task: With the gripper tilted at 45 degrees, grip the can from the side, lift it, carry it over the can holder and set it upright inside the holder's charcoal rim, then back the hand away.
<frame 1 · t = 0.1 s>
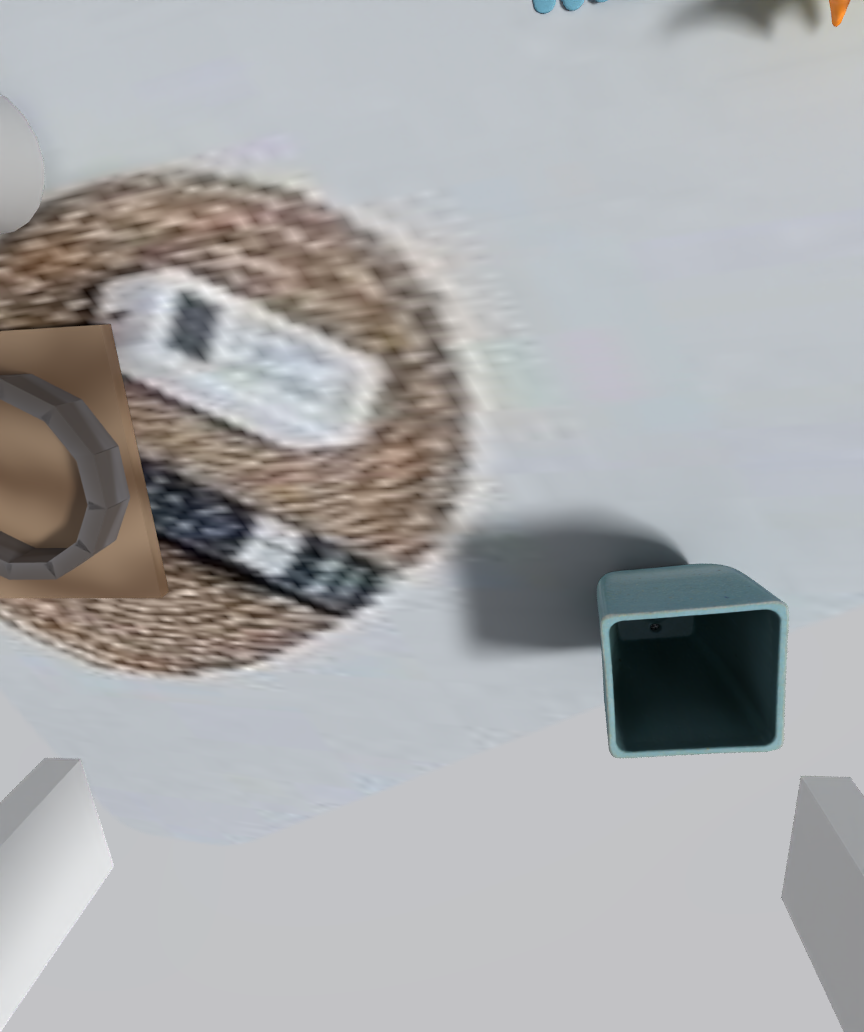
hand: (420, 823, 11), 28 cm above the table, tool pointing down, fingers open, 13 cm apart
flower pot: (653, 602, 40), on the table
can holder: (44, 470, 41), on the table
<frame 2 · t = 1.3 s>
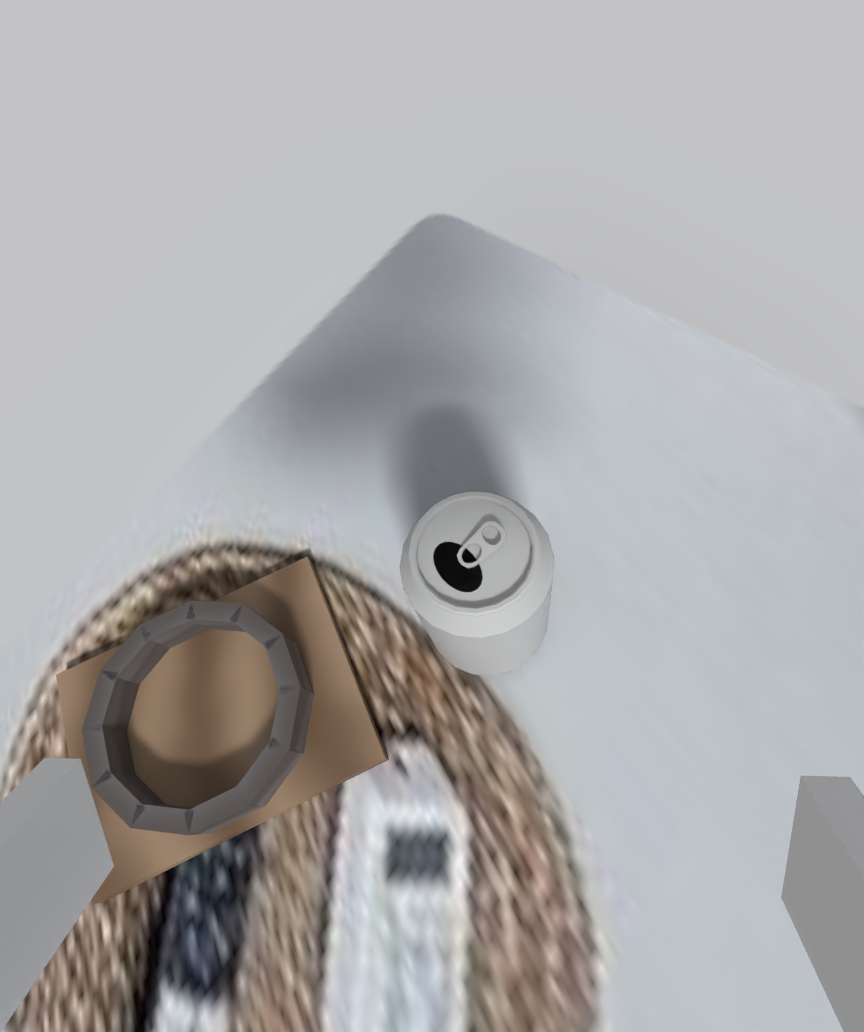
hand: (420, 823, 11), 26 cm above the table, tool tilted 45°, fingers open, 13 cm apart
can: (487, 619, 39), on the table
can holder: (217, 715, 39), on the table
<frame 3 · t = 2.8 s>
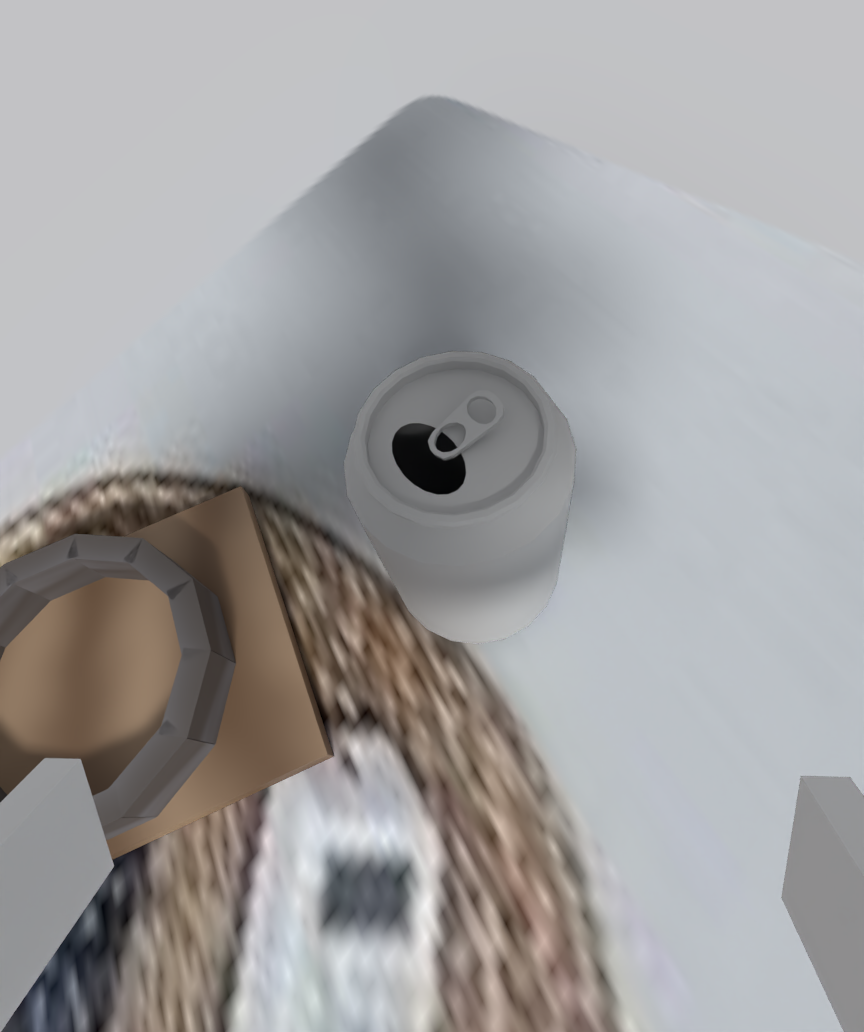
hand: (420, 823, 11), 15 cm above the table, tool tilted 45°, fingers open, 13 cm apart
can: (476, 571, 29), on the table
can holder: (107, 692, 29), on the table
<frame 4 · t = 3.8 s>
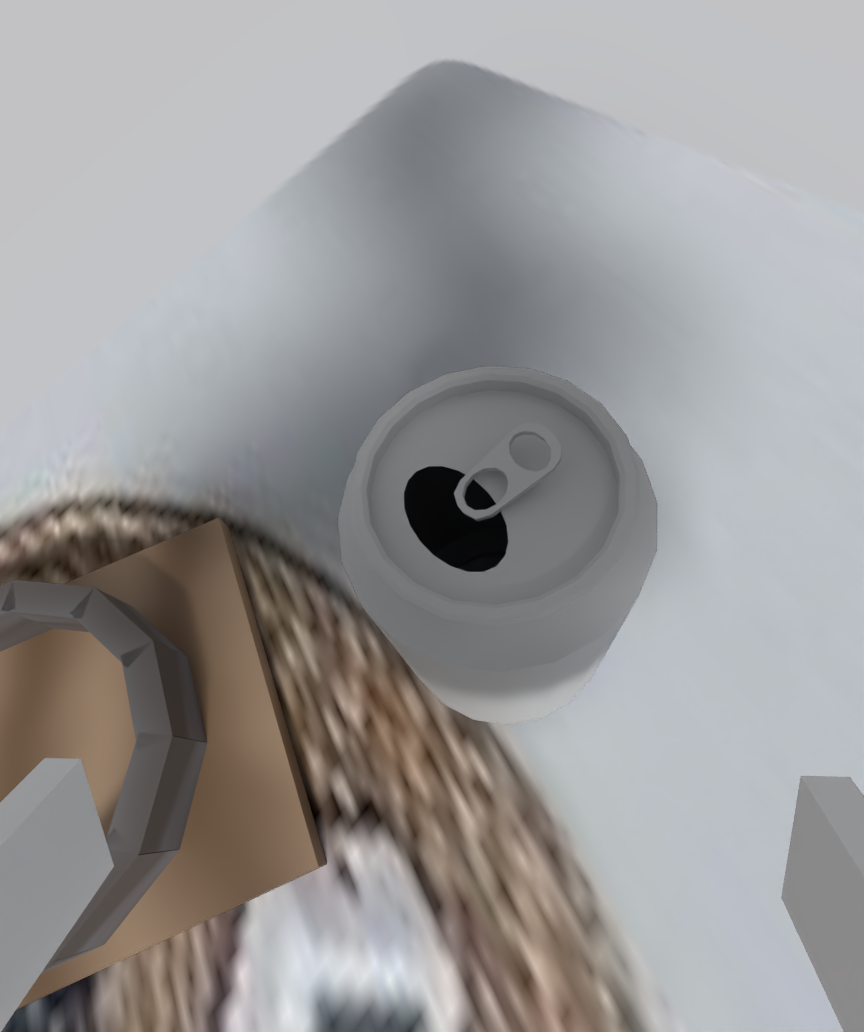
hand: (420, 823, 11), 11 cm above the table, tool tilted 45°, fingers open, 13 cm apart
can: (502, 626, 24), on the table
can holder: (52, 771, 24), on the table
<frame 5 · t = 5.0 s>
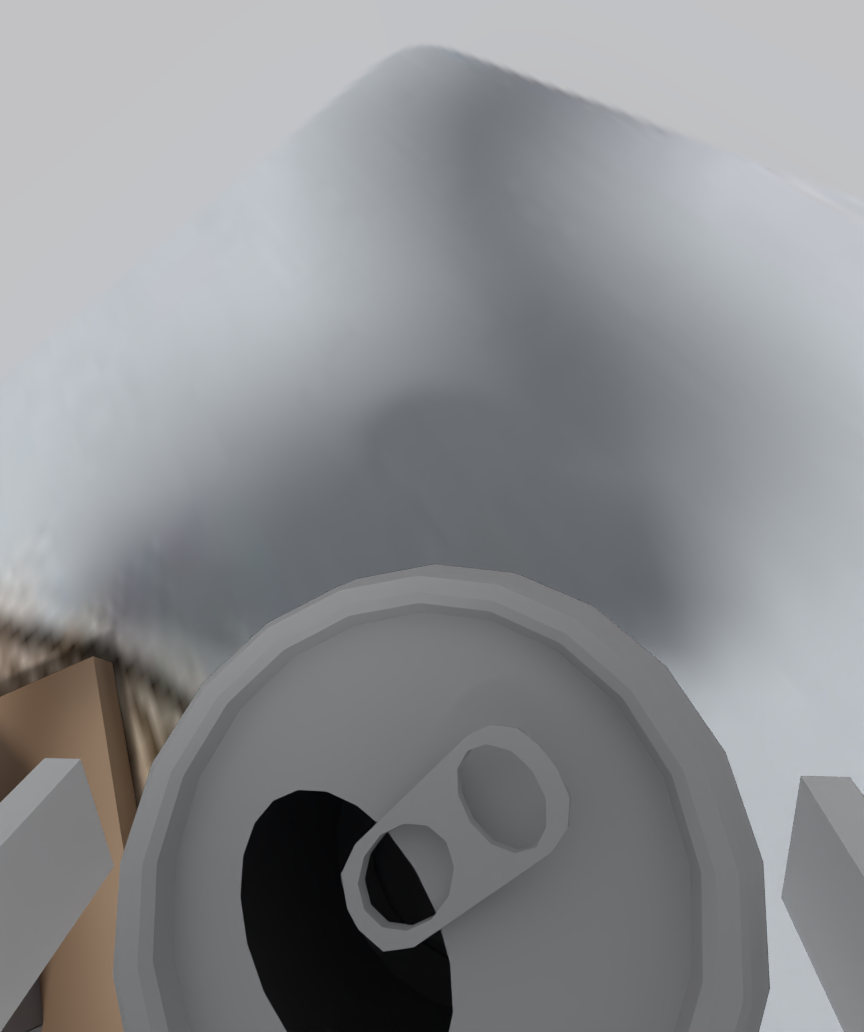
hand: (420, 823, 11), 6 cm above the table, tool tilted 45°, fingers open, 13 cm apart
can: (481, 830, 17), on the table
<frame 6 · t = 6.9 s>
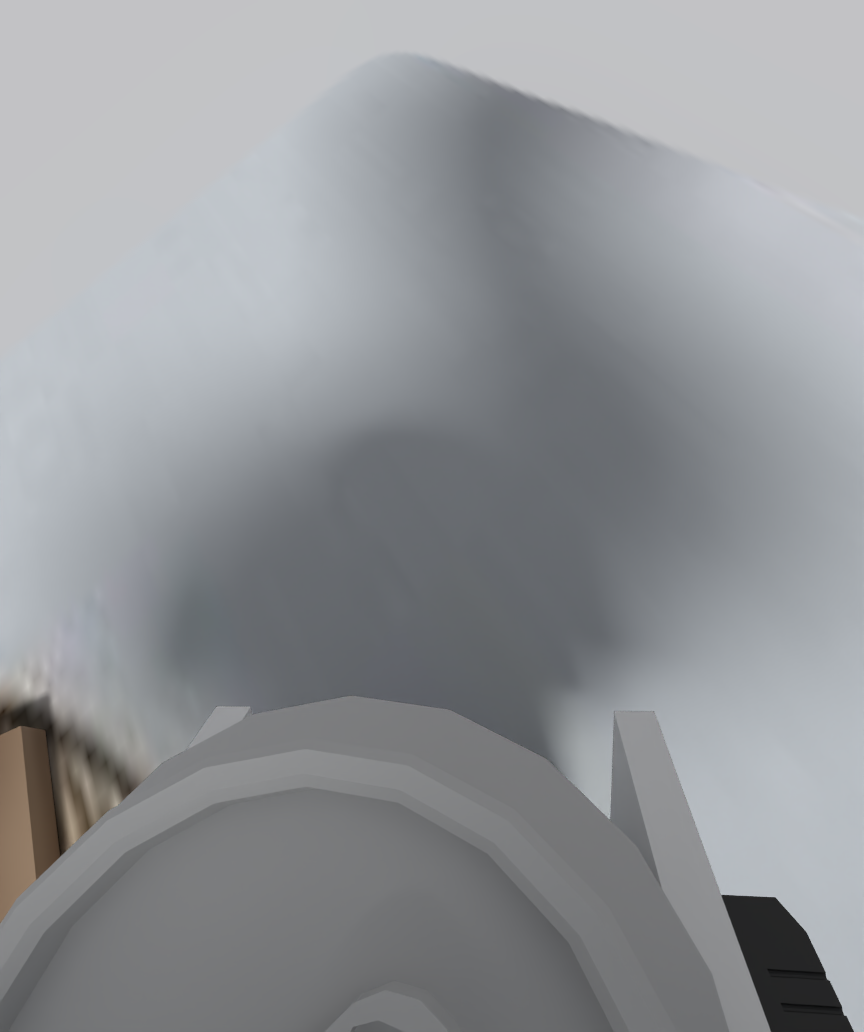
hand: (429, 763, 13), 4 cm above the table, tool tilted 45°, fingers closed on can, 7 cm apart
can: (446, 928, 15), on the table, touching gripper
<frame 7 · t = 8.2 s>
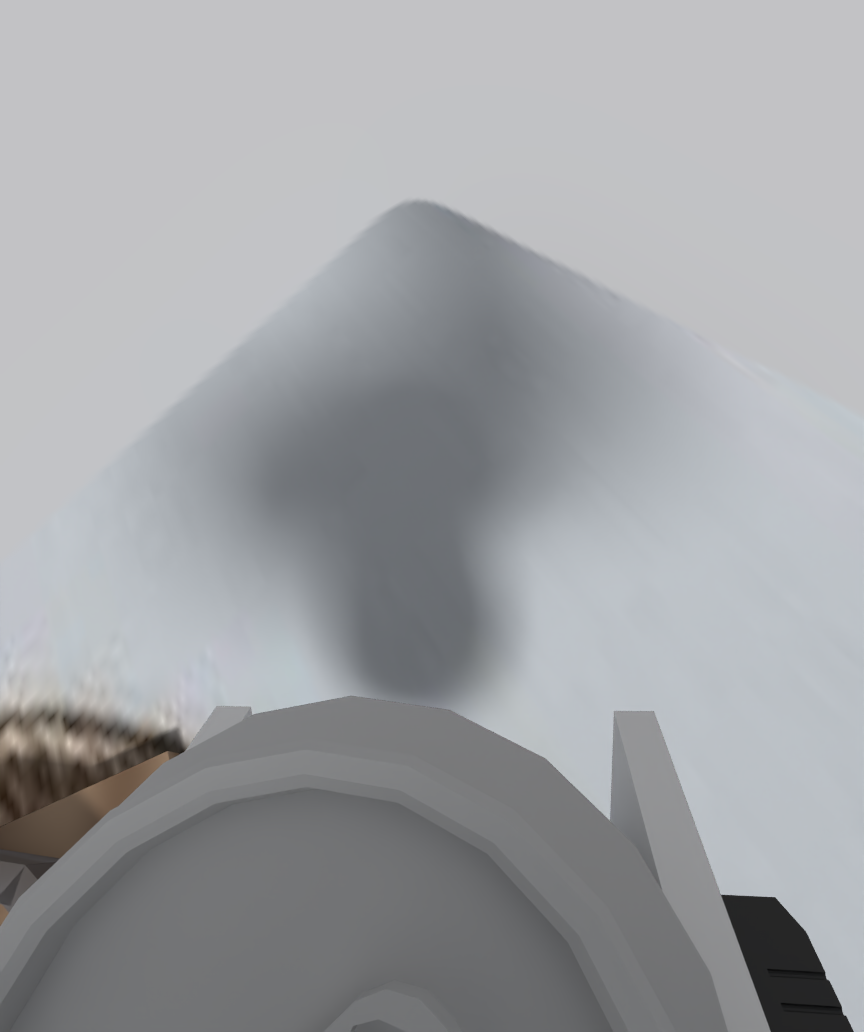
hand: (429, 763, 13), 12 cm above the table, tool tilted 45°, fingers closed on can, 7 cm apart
can: (446, 927, 15), point 8 cm above the table, touching gripper
when the fingers open (6 cm above the table, at t = 12.4 s): can drops 1 cm, resting on can holder.
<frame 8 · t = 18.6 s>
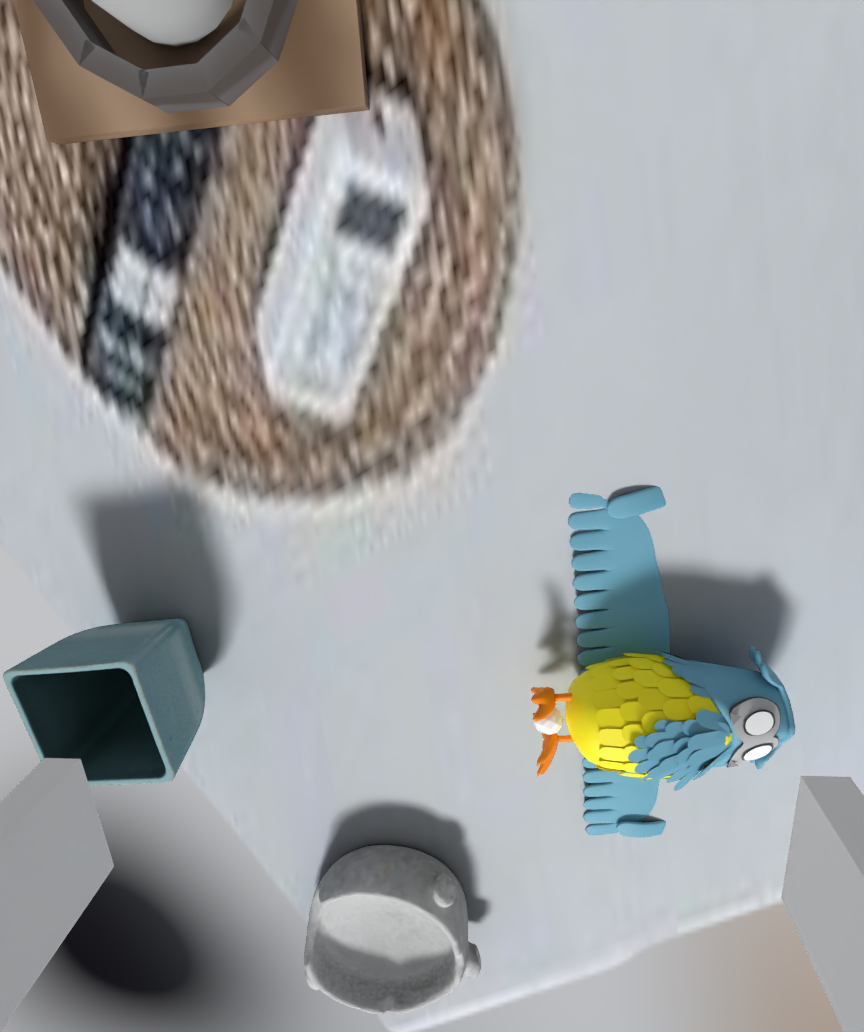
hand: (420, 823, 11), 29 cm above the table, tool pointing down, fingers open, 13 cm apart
dish: (395, 897, 52), on the table
blue yellow plastic figure: (638, 672, 43), on the table
flower pot: (165, 648, 46), on the table
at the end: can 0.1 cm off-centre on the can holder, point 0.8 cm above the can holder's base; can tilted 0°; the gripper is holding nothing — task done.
